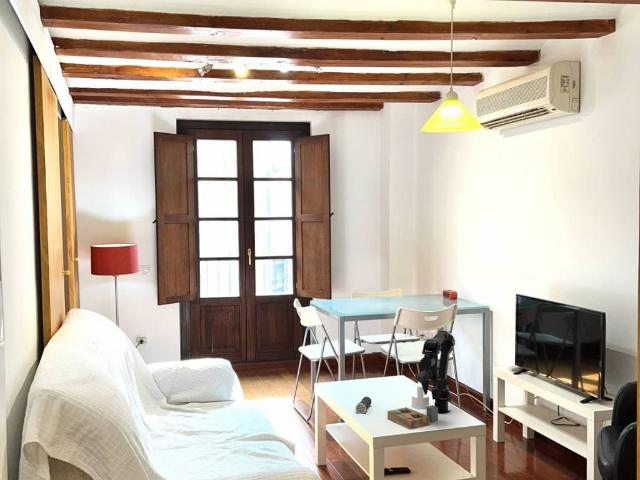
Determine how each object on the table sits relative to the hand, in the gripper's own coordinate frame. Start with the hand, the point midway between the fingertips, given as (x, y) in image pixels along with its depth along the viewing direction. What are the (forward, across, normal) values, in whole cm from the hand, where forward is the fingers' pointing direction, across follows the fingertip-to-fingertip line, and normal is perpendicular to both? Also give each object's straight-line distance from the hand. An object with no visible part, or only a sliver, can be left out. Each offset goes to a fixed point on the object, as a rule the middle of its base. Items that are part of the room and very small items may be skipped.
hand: (431, 396), depth 321 cm
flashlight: (+12, -33, -18) cm, 39 cm away
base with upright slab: (+12, -21, +10) cm, 26 cm away
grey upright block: (+12, 0, 0) cm, 12 cm away
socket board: (+12, -5, -10) cm, 17 cm away
